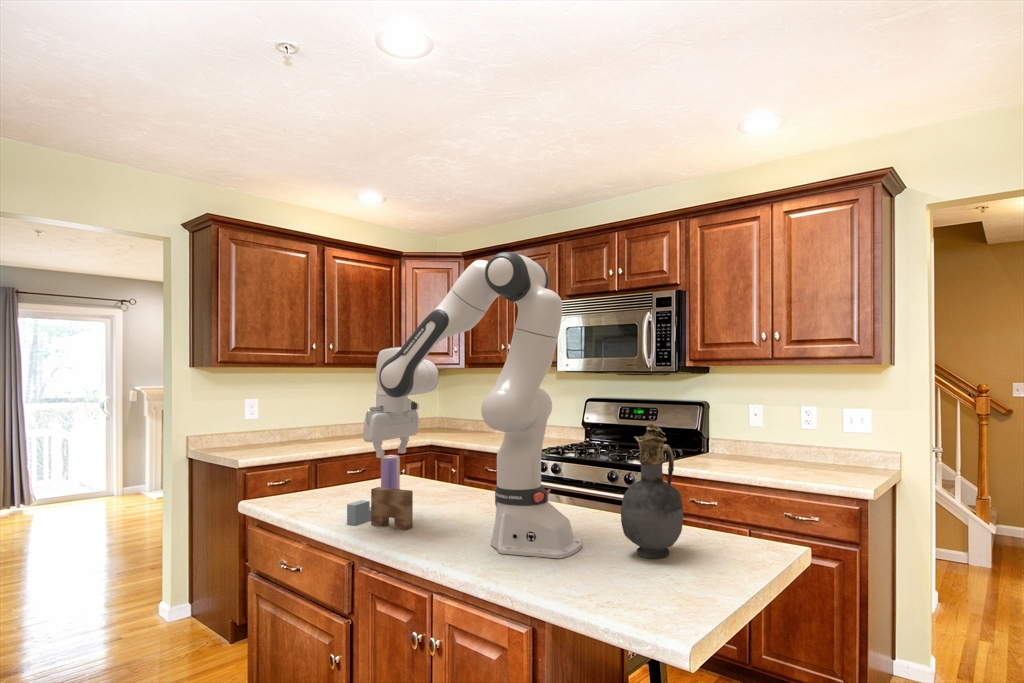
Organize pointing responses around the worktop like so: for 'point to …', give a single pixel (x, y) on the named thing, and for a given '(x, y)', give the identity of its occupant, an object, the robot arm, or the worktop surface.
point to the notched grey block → (358, 512)
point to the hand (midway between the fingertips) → (391, 455)
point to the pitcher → (652, 500)
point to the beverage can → (390, 472)
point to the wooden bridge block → (392, 507)
